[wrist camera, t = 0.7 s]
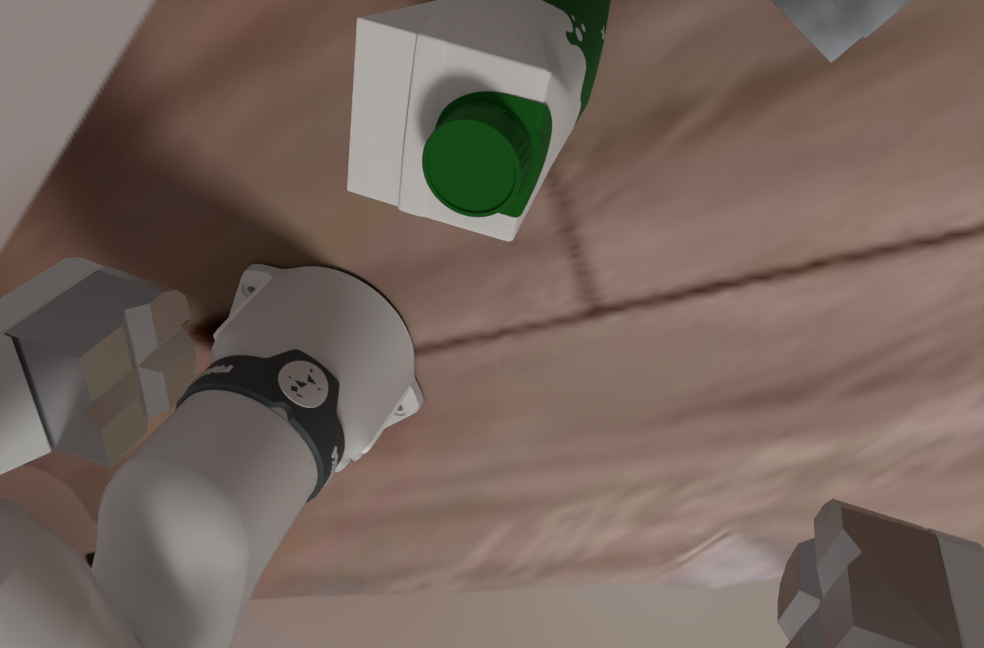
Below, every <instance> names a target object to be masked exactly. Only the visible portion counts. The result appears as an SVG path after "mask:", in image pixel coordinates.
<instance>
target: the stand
mask: <svg viewBox="0 0 984 648" xmlns="http://www.w3.org/2000/svg"><path fill="white" fill-rule="evenodd" d="M771 1H772V2H773V3H774V4H775V5H776V6H777V7H778V8H779V9H780V10H781V11H782V12H783V13H784V14H785V15H786V16H787V17H788V18H789V19H790V21H791V22H792V23H793V24H794V25H795V26H796V27H797V28H798V29H799V30H800V31H801V32H802V33H803V34H804V35H805V36H806V37H807V38H808V39H809V40H810V41H811V42H812V44H813V45H814V46H815V47H816V48H817V49H818V50H819V51H820V52H821V53H822V54H823V55H824V56H825V57H826V58H827V59H828V60H829V61H830V62H831V63H832V62H833V61H834V60H835V59H836V58H838V57H839V56H840V55H841V54H842V53H843V52H845V51H846V50H847V49H848V48H849V47H850V46H851V45H853V44H854V43H855V42H856V41H857V40H858V39H860V38H861V37H862V36H863V37H864V38H867V37H868V36H869V35H870V34H871V33H872V32H874V31H875V30H876V29H877V28H878V27H879V26H881V25H882V24H883V23H884V22H885V21H886V20H888V19H889V18H890V17H891V16H892V15H893V14H895V13H896V12H897V11H898V10H899V9H900V8H902V7H903V6H904V5H905V4H906V3H907V2H909V1H910V0H771Z"/></svg>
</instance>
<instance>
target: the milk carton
mask: <svg viewBox="0 0 984 648" xmlns="http://www.w3.org/2000/svg"><path fill="white" fill-rule="evenodd" d="M609 7H610V0H435V1H431V2H427V3H422V4H418V5H414V6H409V7H405V8H401V9H396V10H392V11H387V12H383V13H378V14H373V15H369V16H364V17H358V18H357V28H356V45H355V63H354V80H353V97H352V114H351V131H350V148H349V165H348V183H347V190H348V191H351V192H354V193H357V194H360V195H363V196H366V197H370V198H373V199H376V200H379V201H383V202H386V203H389V204H392V205H395V206H398V208H399V210H401V211H404V212H407V213H410V214H413V215H417V216H421V217H423V216H424V217H427V218H431V219H434V220H437V221H440V222H444V223H447V224H451V225H454V226H457V227H461V228H464V229H467V230H471V231H474V232H477V233H481V234H484V235H487V236H491V237H494V238H497V239H501V240H504V241H508V242H509V241H512V240H513V239H514V237H515V235H516V233H517V231H518V229H519V227H520V225H521V223H522V221H523V219H524V217H525V216H526V214H527V212H528V210H529V208H530V206H531V204H532V202H533V200H534V198H535V196H536V194H537V192H538V190H539V189H540V187H541V185H542V183H543V181H544V179H545V177H546V175H547V173H548V171H549V169H550V168H551V166H552V164H553V162H554V160H555V159H556V157H557V155H558V154H559V152H560V150H561V148H562V147H563V145H564V143H565V141H566V140H567V138H568V136H569V135H570V133H571V131H572V129H573V128H574V126H575V124H576V123H577V121H578V119H579V117H580V116H581V114H582V112H583V111H584V109H585V107H586V105H587V103H588V101H589V98H590V95H591V91H592V88H593V84H594V80H595V77H596V73H597V69H598V65H599V61H600V57H601V53H602V49H603V44H604V38H605V32H606V25H607V19H608V13H609Z"/></svg>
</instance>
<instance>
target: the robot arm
mask: <svg viewBox="0 0 984 648" xmlns="http://www.w3.org/2000/svg"><path fill="white" fill-rule="evenodd" d="M253 287H254V288H255V289H254V288H253ZM189 318H190V312H189V307H188V302H187V298H186V296H185V295H183V294H182V293H180V292H179V291H177V290H175V289H172V288H169V287H166V286H164V285H161V284H158V283H155V282H152V281H149V280H146V279H143V278H141V277H138V276H135V275H132V274H129V273H126V272H123V271H120V270H118V269H115V268H109V267H106V266H103V265H100V264H98V263H95V262H92V261H89V260H86V259H84V258H81V257H76V258H67V259H63V260H62V261H60V262H59V263H57V264H55V265H54V266H52V267H51V268H49V269H47V270H46V271H44V272H42V273H41V274H39V275H38V276H36V277H34V278H33V279H31V280H30V281H28V282H26V283H25V284H23V285H22V286H20V287H18V288H17V289H15V290H13V291H12V292H10V293H9V294H7V295H5V296H4V297H2V298H1V299H0V474H3V473H5V472H7V471H9V470H12V469H14V468H16V467H18V466H20V465H23V464H25V463H27V462H29V461H32V460H34V459H36V458H38V457H40V456H43V455H45V454H47V453H49V452H51V451H52V450H51V448H53V449H56V450H59V451H62V452H65V453H68V454H71V455H74V456H77V457H80V458H83V459H86V460H89V461H92V462H95V463H98V464H101V465H104V466H107V467H109V468H111V467H112V466H113V465H114V464H115V463H116V462H117V461H118V460H119V459H120V458H121V457H122V456H123V455H124V454H125V453H126V452H127V451H128V450H129V449H130V448H131V447H132V446H133V445H134V444H135V443H136V442H137V441H138V440H139V439H140V438H141V437H142V436H143V435H144V434H146V433H147V424H148V417H150V416H152V415H155V414H158V413H161V412H164V411H166V410H169V409H171V408H172V407H173V406H174V405H175V403H176V402H177V401H178V403H177V406H176V410H175V411H174V412H173V413H172V414H171V415H170V416H169V417H168V418H167V419H166V420H165V421H164V422H163V423H162V424H161V425H160V426H159V427H158V428H157V429H156V430H155V431H154V432H153V434H152V435H151V436H150V437H149V438H148V439H147V440H146V441H145V442H144V443H143V444H142V445H141V446H140V447H139V448H138V449H137V450H136V451H135V452H134V453H133V454H132V455H131V456H130V457H129V458H128V459H127V460H126V461H125V462H124V463H123V464H122V465H121V466H120V467H119V468H118V469H117V470H116V472H115V473H114V475H113V476H112V477H111V479H110V481H109V483H108V484H107V486H106V489H105V491H104V493H103V496H102V499H101V503H100V507H99V513H98V522H97V545H96V552H95V557H94V561H93V565H92V569H90V568H89V566H88V565H87V563H86V562H85V560H84V559H83V558H82V557H81V556H80V555H79V554H78V553H77V552H75V551H74V550H73V549H72V548H71V547H70V546H68V544H66V543H65V542H64V541H63V540H62V539H61V538H60V537H58V536H57V535H56V534H55V533H54V532H53V531H51V530H50V529H49V528H48V527H46V526H45V525H44V524H42V523H41V522H40V521H38V520H37V519H36V518H35V517H33V516H32V515H31V514H30V513H28V512H27V511H26V510H24V509H23V508H22V507H21V506H19V505H18V504H16V503H14V502H12V501H9V500H7V499H3V498H0V648H232V646H233V643H234V640H235V637H236V635H237V631H238V629H239V626H240V623H241V620H242V617H243V615H244V612H245V609H246V607H247V604H248V602H249V600H250V598H251V595H252V593H253V591H254V588H255V586H256V584H257V582H258V580H259V578H260V576H261V575H262V573H263V571H264V569H265V567H266V565H267V564H268V562H269V560H270V559H271V557H272V555H273V554H274V552H275V551H276V549H277V547H278V546H279V544H280V543H281V541H282V539H283V538H284V536H285V535H286V533H287V531H288V530H289V528H290V527H291V525H292V523H293V522H294V520H295V519H296V517H297V515H298V514H299V512H300V511H301V509H302V507H303V506H304V504H305V503H306V502H309V501H310V500H312V499H313V498H315V497H316V496H317V494H318V493H319V492H320V490H321V489H322V488H323V487H324V486H325V485H326V484H327V482H329V480H330V479H331V477H332V476H333V474H334V472H336V473H337V472H339V471H341V470H342V469H343V468H344V467H346V465H347V464H348V463H349V462H350V461H351V459H352V460H353V461H356V460H358V459H359V458H360V457H361V456H362V455H363V454H364V453H367V452H368V451H369V450H370V448H371V447H372V446H373V444H374V443H375V441H376V440H377V438H378V437H379V436H380V434H381V433H382V431H383V430H384V428H386V427H388V426H390V425H392V424H394V423H396V422H398V421H400V420H402V419H404V418H406V417H408V416H410V415H412V414H414V413H416V412H417V411H418V409H419V408H420V407H421V406H422V404H423V395H422V392H421V390H420V388H419V385H418V383H417V381H416V379H415V375H414V351H413V345H412V341H411V338H410V335H409V333H408V331H407V329H406V326H405V325H404V323H403V321H402V320H401V318H400V316H399V315H398V314H397V312H396V311H395V310H394V309H393V307H392V306H391V305H390V304H389V303H388V302H387V301H386V300H385V299H384V298H383V297H382V296H381V295H380V294H379V293H378V292H376V291H375V290H374V289H372V288H371V287H370V286H368V285H367V284H365V283H363V282H362V281H360V280H358V279H357V278H355V277H353V276H350V275H348V274H346V273H343V272H340V271H337V270H334V269H330V268H325V267H316V266H305V267H298V268H291V269H279V268H275V267H271V266H267V265H262V264H252V265H250V266H249V267H248V268H247V269H246V270H245V271H244V273H243V274H242V277H241V280H240V283H239V286H238V289H237V292H236V295H235V298H234V302H233V305H232V308H231V311H230V314H229V317H228V319H227V320H226V321H225V322H224V323H223V324H222V325H221V326H220V327H219V328H218V329H217V331H216V332H215V333H214V335H213V337H214V339H215V342H214V344H213V347H212V350H211V355H210V360H209V366H208V368H207V369H206V370H205V371H203V372H202V373H200V374H199V375H198V376H197V377H196V378H195V379H194V380H193V381H192V382H191V380H192V378H193V376H194V373H195V366H196V359H197V358H196V350H195V344H194V342H193V341H192V340H191V338H190V337H189V335H188V334H187V333H186V331H185V330H184V329H183V326H184V324H185V323H186V322H187V321H188V320H189ZM190 382H191V383H190ZM189 384H190V385H189ZM188 386H189V387H188ZM814 531H815V538H813V539H810V540H807V541H804V542H801V543H799V544H798V545H797V546H796V548H795V550H794V551H793V553H792V555H791V556H790V558H789V560H788V562H787V564H786V567H785V570H784V574H783V577H782V580H781V583H780V589H779V597H778V623H779V625H780V626H781V628H782V629H783V631H784V633H785V635H786V636H787V638H788V639H789V641H790V642H789V644H788V645H787V647H786V648H984V549H983V547H982V546H981V545H980V544H979V543H976V542H973V541H969V540H966V539H963V538H959V537H956V536H953V535H950V534H946V533H943V532H940V531H936V530H933V529H930V528H929V529H926V528H924V527H922V526H919V525H915V524H912V523H909V522H906V521H903V520H899V519H896V518H893V517H890V516H886V515H883V514H880V513H877V512H874V511H870V510H867V509H864V508H861V507H857V506H854V505H851V504H848V503H845V502H841V501H838V500H835V499H832V500H830V501H829V502H827V503H826V504H825V505H823V507H822V508H821V510H820V511H819V513H818V514H817V516H816V517H815V519H814Z"/></svg>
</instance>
